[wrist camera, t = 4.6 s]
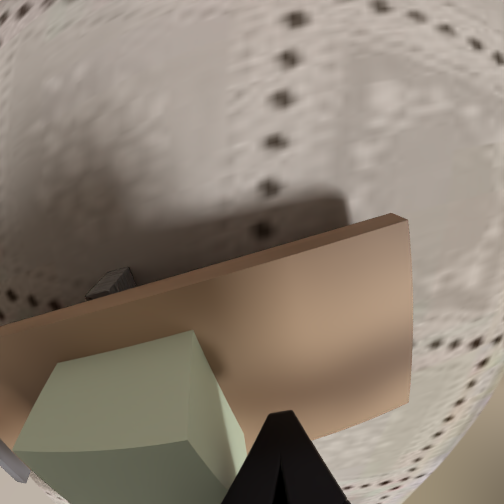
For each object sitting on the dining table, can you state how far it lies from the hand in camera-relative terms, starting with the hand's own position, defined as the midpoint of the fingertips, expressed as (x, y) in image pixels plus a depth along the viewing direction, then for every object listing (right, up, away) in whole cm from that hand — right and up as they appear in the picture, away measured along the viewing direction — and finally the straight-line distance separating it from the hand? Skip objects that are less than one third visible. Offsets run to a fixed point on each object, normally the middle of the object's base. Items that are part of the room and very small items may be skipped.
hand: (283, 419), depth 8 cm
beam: (-5, -1, +3) cm, 6 cm away
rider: (-4, -1, +2) cm, 5 cm away
